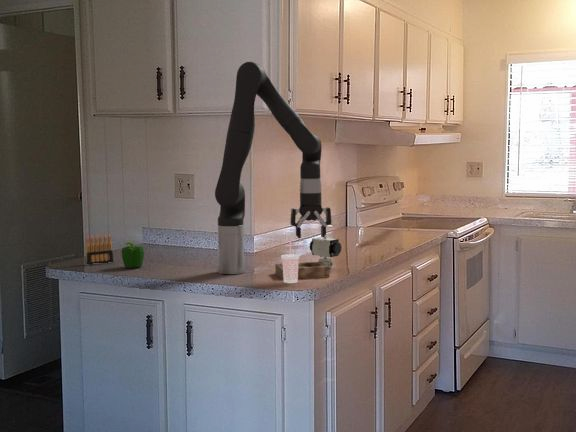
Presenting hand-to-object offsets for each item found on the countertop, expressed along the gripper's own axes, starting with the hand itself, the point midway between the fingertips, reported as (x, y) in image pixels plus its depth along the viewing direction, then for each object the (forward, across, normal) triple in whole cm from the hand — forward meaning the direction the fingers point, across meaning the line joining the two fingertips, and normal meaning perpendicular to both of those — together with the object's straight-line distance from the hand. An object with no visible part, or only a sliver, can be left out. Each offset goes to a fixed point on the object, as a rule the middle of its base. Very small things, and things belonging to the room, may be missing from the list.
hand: (311, 237), depth 247 cm
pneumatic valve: (+14, +8, +12) cm, 20 cm away
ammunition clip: (+13, -75, +44) cm, 88 cm away
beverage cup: (+14, -10, -11) cm, 20 cm away
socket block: (+13, -3, 0) cm, 14 cm away
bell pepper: (+13, -62, +32) cm, 71 cm away
